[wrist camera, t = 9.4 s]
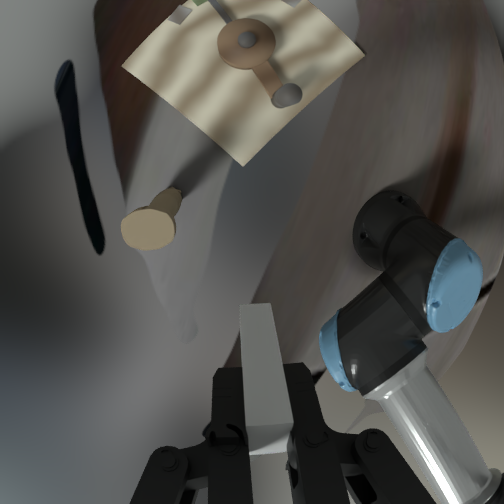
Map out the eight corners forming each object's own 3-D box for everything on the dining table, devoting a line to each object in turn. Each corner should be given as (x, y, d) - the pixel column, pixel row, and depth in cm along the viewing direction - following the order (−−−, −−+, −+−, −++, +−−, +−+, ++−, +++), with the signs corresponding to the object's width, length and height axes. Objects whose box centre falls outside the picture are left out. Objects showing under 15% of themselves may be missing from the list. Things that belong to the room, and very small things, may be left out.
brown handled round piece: (178, 0, 26) (168, -22, 19) (224, -22, 25) (222, -46, 18) (261, 119, 37) (267, 118, 30) (307, 96, 35) (324, 90, 28)
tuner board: (362, 56, 33) (365, 55, 32) (242, 165, 41) (243, 166, 40) (246, -39, 24) (247, -43, 23) (123, 66, 32) (119, 65, 31)
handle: (152, 184, 41) (117, 213, 28) (190, 178, 41) (170, 205, 28) (157, 212, 43) (126, 252, 30) (194, 207, 44) (177, 247, 30)
